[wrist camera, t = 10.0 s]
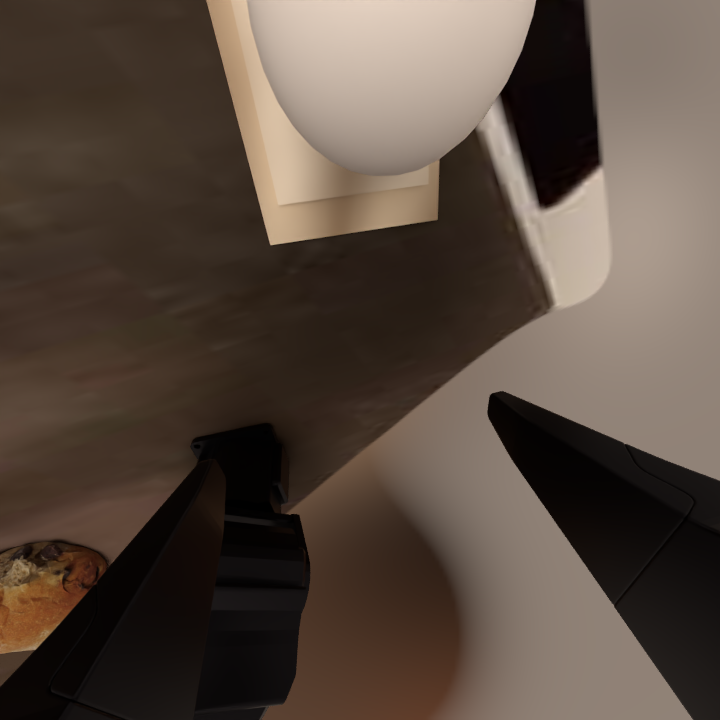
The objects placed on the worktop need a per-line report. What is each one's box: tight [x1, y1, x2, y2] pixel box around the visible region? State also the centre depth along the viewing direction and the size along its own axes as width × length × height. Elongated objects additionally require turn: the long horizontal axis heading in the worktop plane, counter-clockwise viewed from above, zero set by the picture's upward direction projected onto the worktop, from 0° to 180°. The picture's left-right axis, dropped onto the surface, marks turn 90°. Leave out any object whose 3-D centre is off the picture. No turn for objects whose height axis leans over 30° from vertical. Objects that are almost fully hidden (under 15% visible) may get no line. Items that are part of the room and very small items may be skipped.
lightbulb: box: [247, 0, 536, 176], centre depth 9 cm, size 6×6×11 cm
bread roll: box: [0, 542, 107, 654], centre depth 28 cm, size 10×10×8 cm
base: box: [207, 0, 439, 245], centre depth 14 cm, size 10×12×2 cm
